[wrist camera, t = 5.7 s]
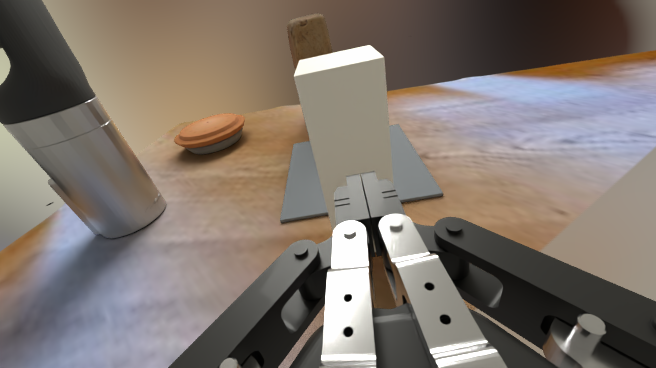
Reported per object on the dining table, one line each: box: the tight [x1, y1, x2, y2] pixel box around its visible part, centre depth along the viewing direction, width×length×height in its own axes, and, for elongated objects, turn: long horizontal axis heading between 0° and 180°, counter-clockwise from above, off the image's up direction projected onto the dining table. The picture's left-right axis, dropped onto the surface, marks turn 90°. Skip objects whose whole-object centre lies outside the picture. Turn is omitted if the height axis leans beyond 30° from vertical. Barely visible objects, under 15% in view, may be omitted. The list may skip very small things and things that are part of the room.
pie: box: [174, 113, 245, 154], centre depth 61 cm, size 15×16×5 cm
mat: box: [280, 124, 443, 222], centre depth 43 cm, size 20×22×1 cm
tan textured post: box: [287, 13, 333, 71], centre depth 58 cm, size 11×8×20 cm
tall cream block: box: [294, 45, 393, 252], centre depth 25 cm, size 6×6×18 cm
